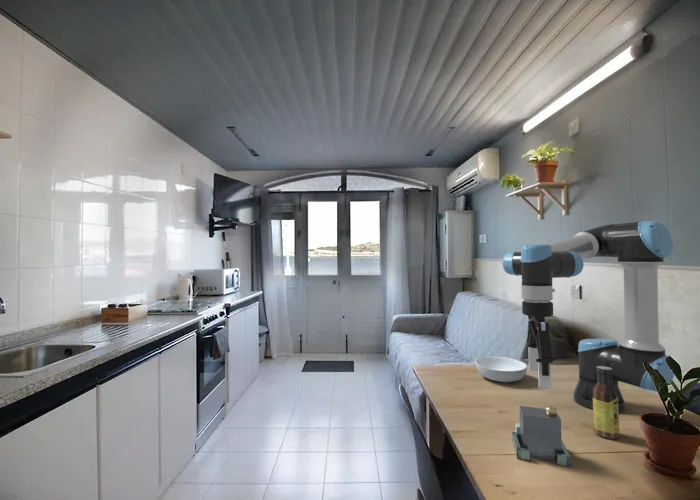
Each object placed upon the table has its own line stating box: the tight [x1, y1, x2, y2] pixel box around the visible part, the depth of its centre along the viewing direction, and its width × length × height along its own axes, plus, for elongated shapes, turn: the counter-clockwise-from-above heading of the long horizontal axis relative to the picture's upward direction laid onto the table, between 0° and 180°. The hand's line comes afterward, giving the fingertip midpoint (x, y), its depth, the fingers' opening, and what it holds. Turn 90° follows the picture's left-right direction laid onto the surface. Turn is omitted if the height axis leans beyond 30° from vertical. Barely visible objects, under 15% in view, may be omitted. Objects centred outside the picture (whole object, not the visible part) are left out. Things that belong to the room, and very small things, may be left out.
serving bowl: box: [474, 355, 528, 383], centre depth 153 cm, size 21×21×7 cm
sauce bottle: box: [592, 366, 620, 440], centre depth 105 cm, size 6×6×20 cm
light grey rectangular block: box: [514, 422, 520, 433], centre depth 101 cm, size 7×2×4 cm, turn 72°
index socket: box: [511, 431, 572, 468], centre depth 95 cm, size 12×10×2 cm
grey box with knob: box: [519, 405, 562, 462], centre depth 95 cm, size 9×6×13 cm, turn 72°
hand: (539, 378), depth 95 cm, fingers open, 13 cm apart
